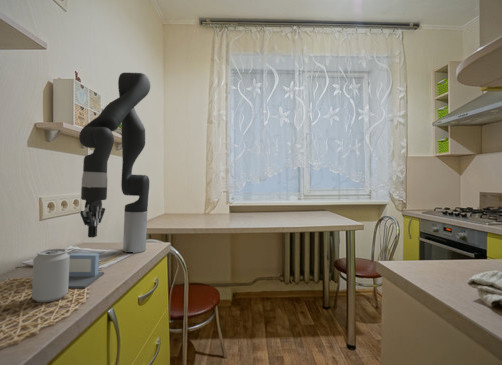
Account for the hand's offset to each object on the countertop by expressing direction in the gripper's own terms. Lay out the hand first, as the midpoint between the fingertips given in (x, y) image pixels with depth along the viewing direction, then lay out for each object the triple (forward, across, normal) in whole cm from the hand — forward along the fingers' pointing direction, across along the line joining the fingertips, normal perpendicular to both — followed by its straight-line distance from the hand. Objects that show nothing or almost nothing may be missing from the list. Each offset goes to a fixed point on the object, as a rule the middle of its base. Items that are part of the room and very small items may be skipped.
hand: (92, 236), depth 90 cm
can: (+12, +22, 0) cm, 25 cm away
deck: (+11, +7, 0) cm, 13 cm away
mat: (+11, +10, -1) cm, 15 cm away
